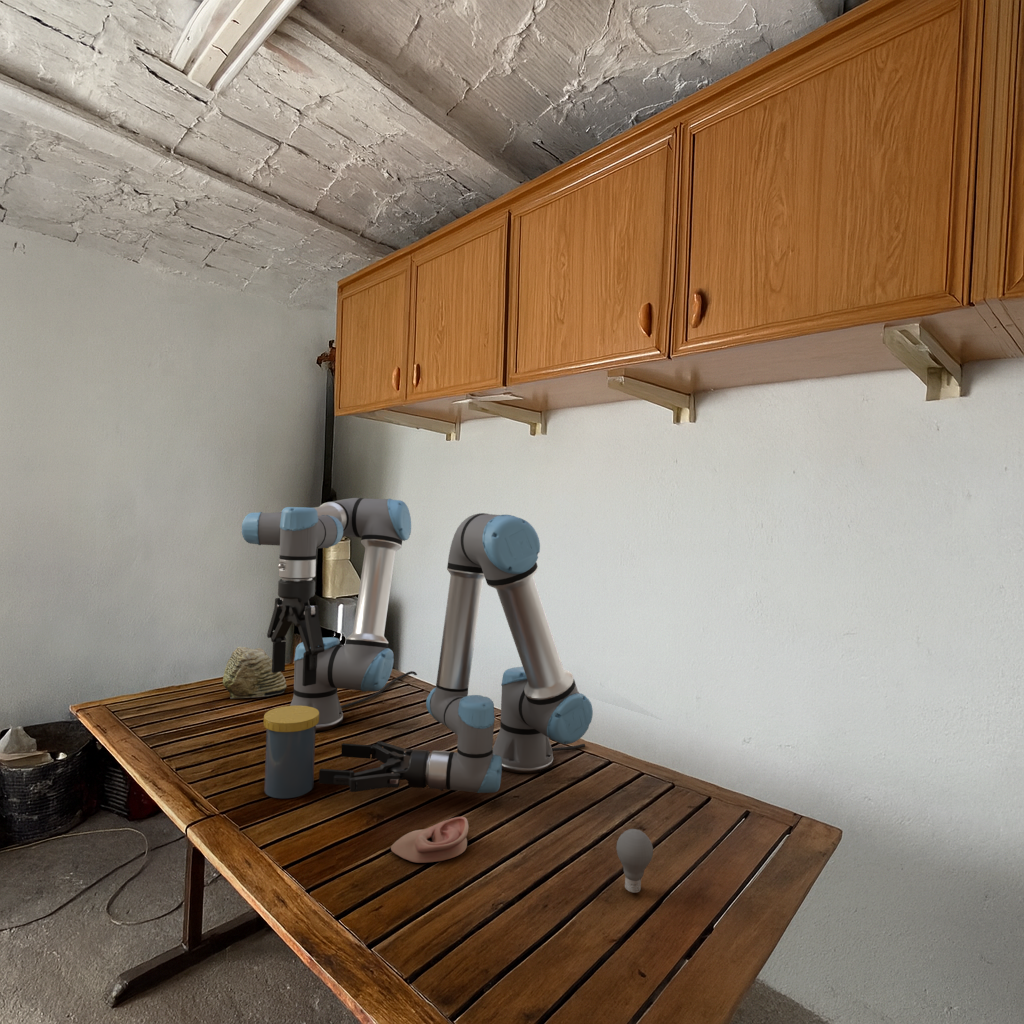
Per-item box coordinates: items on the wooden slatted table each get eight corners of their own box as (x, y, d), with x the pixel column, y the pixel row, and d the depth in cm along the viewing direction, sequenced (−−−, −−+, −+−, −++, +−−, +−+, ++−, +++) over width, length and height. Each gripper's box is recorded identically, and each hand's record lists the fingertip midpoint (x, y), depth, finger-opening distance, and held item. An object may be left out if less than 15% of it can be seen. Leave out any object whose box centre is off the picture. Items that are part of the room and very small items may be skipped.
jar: (318, 792, 136) (321, 720, 135) (268, 802, 130) (271, 727, 130) (307, 774, 144) (310, 705, 144) (260, 782, 139) (263, 711, 139)
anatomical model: (384, 835, 112) (408, 805, 123) (383, 857, 112) (407, 825, 123) (456, 847, 109) (474, 815, 120) (455, 869, 109) (473, 836, 121)
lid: (324, 727, 135) (325, 718, 135) (268, 735, 129) (268, 726, 129) (312, 711, 145) (312, 702, 145) (259, 718, 139) (259, 709, 139)
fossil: (218, 695, 195) (220, 647, 195) (278, 685, 208) (279, 640, 207) (228, 703, 189) (230, 653, 188) (289, 692, 201) (290, 645, 201)
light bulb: (610, 879, 108) (613, 822, 108) (644, 879, 109) (647, 822, 109) (619, 902, 102) (622, 840, 102) (655, 901, 103) (658, 840, 103)
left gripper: (253, 573, 142) (249, 669, 142) (311, 586, 126) (307, 694, 126) (284, 571, 147) (281, 663, 148) (344, 584, 131) (340, 687, 132)
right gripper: (415, 815, 122) (308, 807, 124) (438, 762, 147) (349, 756, 149) (416, 777, 122) (309, 769, 124) (440, 730, 147) (350, 724, 149)
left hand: (293, 678), depth 137 cm, fingers open, 12 cm apart
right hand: (331, 762), depth 136 cm, fingers open, 13 cm apart
